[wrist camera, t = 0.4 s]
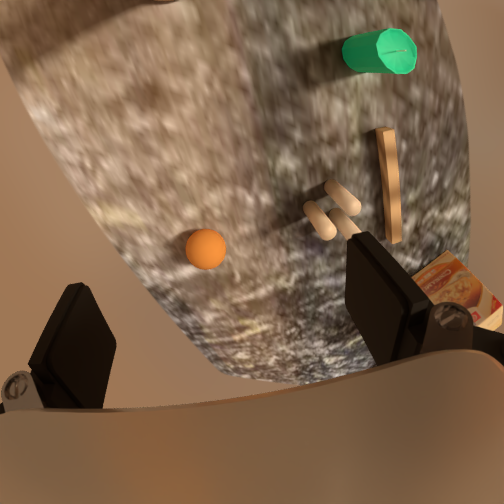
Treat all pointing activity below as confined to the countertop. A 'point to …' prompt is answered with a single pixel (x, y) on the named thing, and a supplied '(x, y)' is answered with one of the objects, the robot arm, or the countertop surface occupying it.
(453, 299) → the coffeecake box
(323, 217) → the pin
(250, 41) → the countertop surface
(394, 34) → the candle
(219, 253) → the ball
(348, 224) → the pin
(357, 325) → the robot arm
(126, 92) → the countertop surface
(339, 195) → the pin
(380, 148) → the back wall
